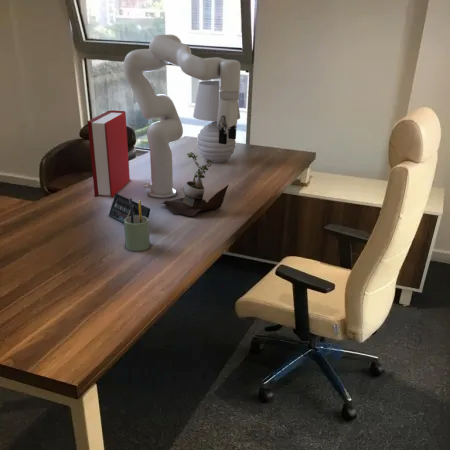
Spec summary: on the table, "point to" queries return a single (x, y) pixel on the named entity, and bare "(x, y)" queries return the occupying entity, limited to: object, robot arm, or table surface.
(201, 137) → the table lamp
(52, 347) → the table surface
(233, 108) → the robot arm
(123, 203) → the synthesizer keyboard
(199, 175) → the potted plant
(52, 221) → the table surface
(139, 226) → the pen cup
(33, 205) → the table surface
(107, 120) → the book
